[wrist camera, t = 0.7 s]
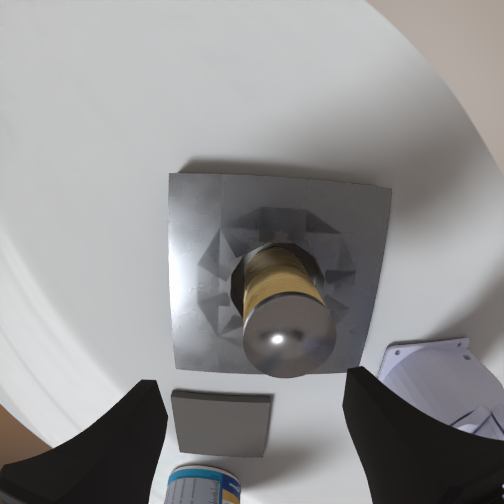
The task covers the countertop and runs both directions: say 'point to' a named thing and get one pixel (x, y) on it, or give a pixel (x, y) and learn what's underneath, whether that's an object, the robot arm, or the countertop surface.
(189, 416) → the mat
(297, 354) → the cylindrical knob
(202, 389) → the countertop surface
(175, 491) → the blue bottle
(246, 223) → the housing
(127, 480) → the robot arm
